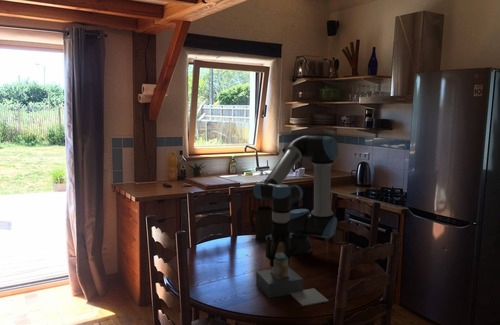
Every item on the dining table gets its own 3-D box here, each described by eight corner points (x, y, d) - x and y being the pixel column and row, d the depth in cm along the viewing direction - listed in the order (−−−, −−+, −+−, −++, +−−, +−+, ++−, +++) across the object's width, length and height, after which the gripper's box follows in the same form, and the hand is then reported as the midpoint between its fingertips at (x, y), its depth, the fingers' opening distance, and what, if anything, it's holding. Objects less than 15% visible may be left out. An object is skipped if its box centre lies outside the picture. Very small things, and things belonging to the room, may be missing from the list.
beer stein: (276, 238, 248) (274, 205, 246) (271, 243, 238) (269, 209, 236) (252, 236, 254) (250, 205, 251) (246, 242, 244) (244, 209, 241)
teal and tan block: (281, 284, 184) (281, 252, 182) (287, 290, 178) (288, 257, 176) (270, 286, 182) (271, 253, 180) (277, 292, 176) (277, 258, 174)
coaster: (313, 289, 179) (313, 288, 179) (328, 301, 168) (328, 300, 168) (289, 293, 175) (289, 292, 175) (302, 306, 164) (302, 304, 164)
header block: (288, 279, 189) (288, 267, 188) (302, 292, 176) (303, 279, 175) (256, 284, 183) (256, 271, 183) (268, 297, 170) (269, 284, 170)
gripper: (295, 216, 182) (293, 266, 185) (258, 220, 176) (257, 272, 179) (303, 221, 175) (301, 273, 178) (264, 225, 169) (263, 278, 172)
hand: (279, 272), depth 179 cm, fingers closed on teal and tan block, 5 cm apart
